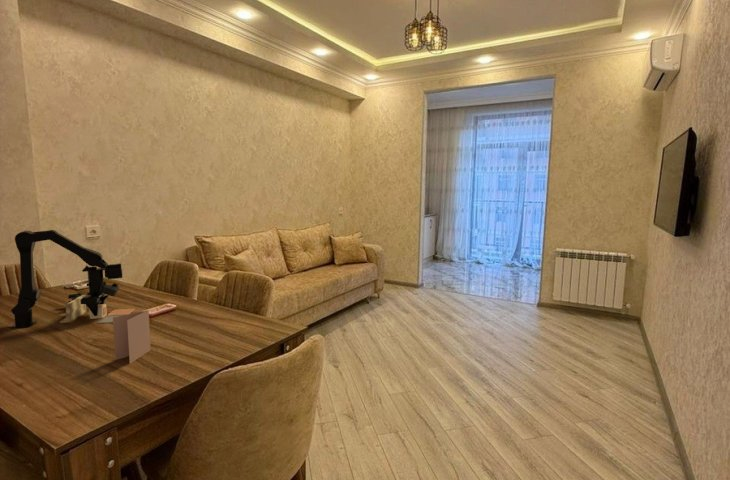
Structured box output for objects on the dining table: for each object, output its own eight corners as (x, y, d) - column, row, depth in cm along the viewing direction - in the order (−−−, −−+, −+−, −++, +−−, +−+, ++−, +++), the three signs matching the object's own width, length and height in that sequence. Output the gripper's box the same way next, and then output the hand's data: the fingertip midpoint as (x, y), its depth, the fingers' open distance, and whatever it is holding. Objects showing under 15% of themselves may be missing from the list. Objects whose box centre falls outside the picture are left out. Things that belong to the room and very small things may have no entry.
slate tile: (121, 322, 172) (121, 321, 172) (97, 323, 170) (97, 322, 170) (128, 315, 181) (128, 315, 181) (105, 317, 179) (105, 316, 179)
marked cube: (102, 317, 178) (102, 306, 177) (89, 318, 177) (89, 307, 176) (107, 314, 183) (106, 303, 182) (94, 315, 181) (93, 304, 181)
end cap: (91, 308, 192) (90, 294, 191) (73, 311, 187) (72, 297, 186) (86, 304, 198) (85, 290, 198) (68, 306, 193) (67, 293, 193)
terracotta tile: (128, 315, 182) (128, 314, 182) (106, 316, 180) (106, 315, 180) (135, 309, 191) (134, 308, 191) (114, 310, 189) (113, 309, 189)
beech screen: (70, 322, 171) (69, 304, 170) (59, 323, 170) (58, 304, 169) (86, 311, 187) (85, 294, 186) (76, 311, 186) (75, 295, 185)
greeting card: (149, 349, 145) (147, 309, 143) (158, 354, 140) (156, 313, 138) (114, 359, 136) (111, 316, 134) (122, 365, 131) (120, 321, 129)
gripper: (108, 284, 170) (110, 319, 172) (123, 275, 188) (125, 307, 190) (78, 285, 168) (81, 321, 170) (96, 276, 186) (98, 308, 188)
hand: (98, 313), depth 179 cm, fingers closed on marked cube, 5 cm apart
